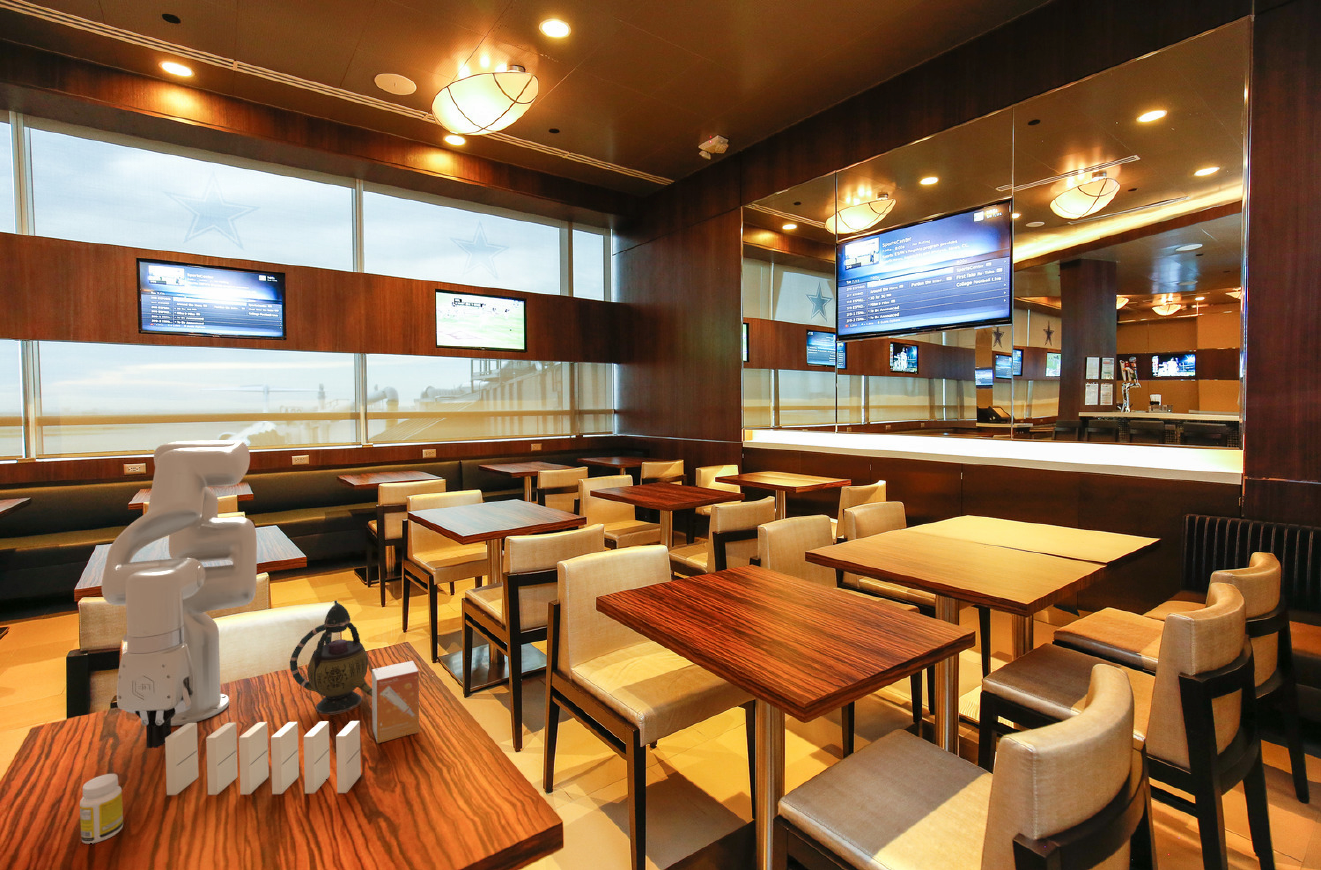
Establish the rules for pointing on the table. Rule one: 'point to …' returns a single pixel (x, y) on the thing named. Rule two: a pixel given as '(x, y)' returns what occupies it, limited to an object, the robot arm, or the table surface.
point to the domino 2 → (221, 758)
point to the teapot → (334, 665)
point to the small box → (395, 701)
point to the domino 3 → (253, 757)
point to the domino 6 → (348, 756)
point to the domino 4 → (284, 757)
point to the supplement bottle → (101, 809)
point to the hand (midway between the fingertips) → (159, 743)
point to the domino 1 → (181, 758)
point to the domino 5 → (316, 756)
